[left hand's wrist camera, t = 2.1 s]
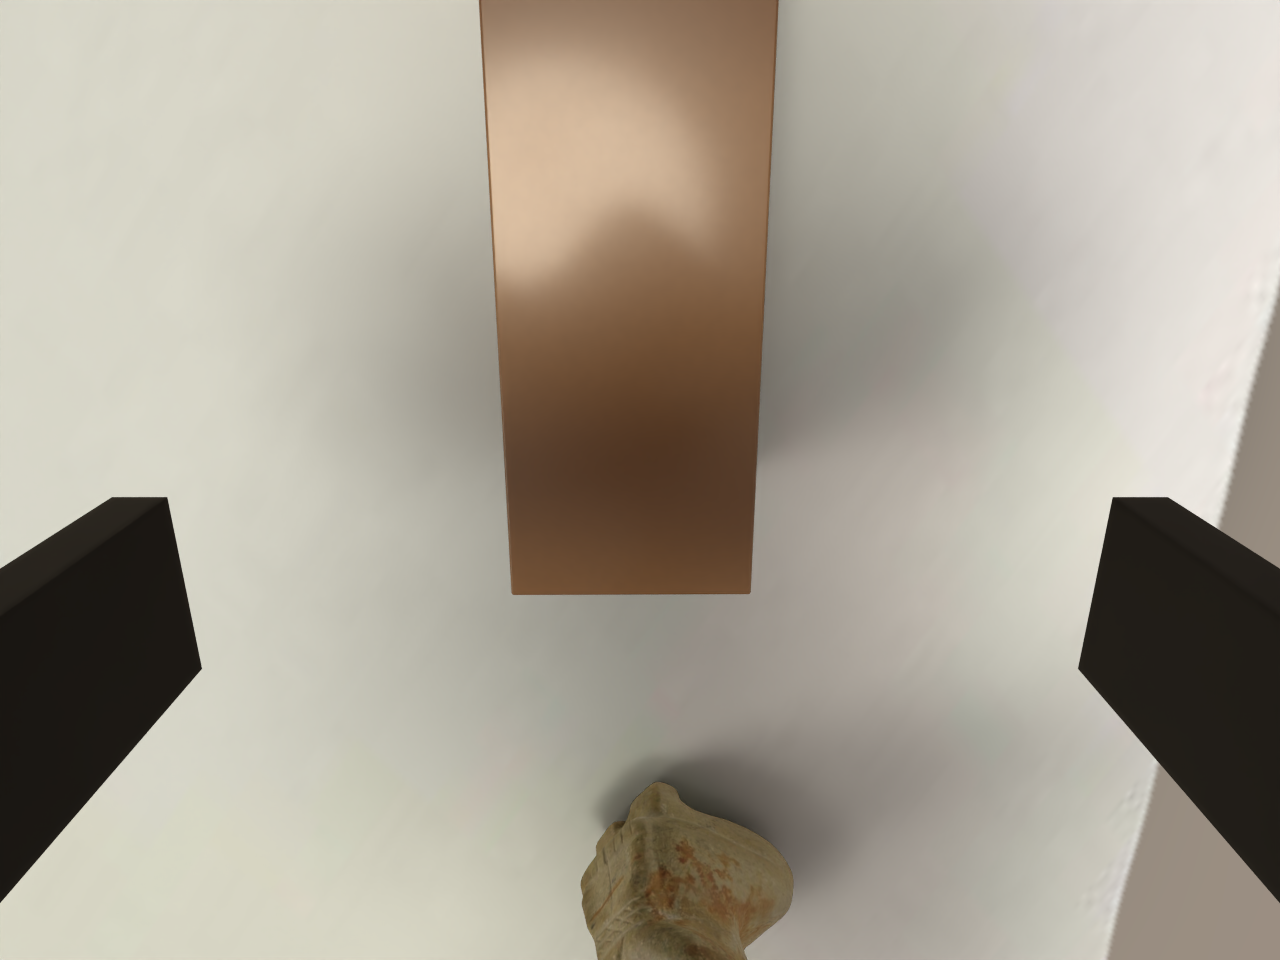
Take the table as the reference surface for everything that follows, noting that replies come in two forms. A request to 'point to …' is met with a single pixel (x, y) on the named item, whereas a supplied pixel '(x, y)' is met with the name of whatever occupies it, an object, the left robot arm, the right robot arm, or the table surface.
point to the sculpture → (681, 884)
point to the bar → (629, 285)
